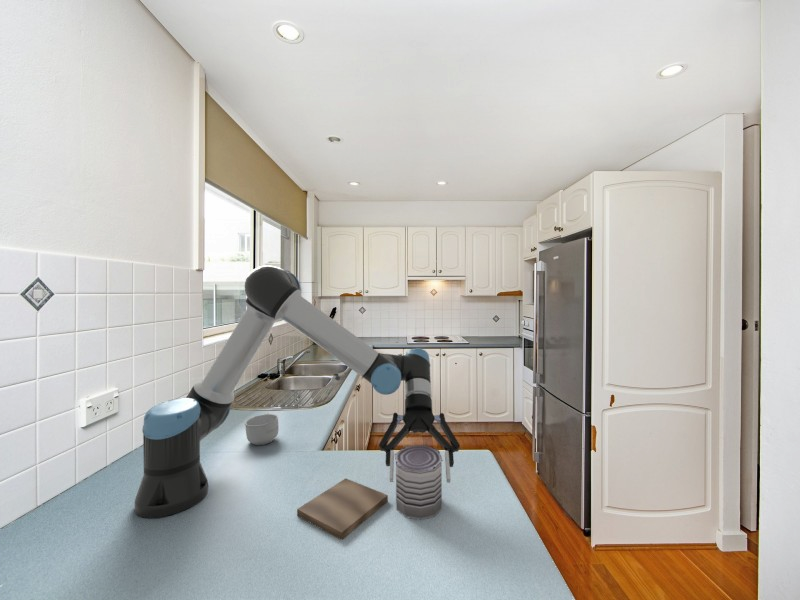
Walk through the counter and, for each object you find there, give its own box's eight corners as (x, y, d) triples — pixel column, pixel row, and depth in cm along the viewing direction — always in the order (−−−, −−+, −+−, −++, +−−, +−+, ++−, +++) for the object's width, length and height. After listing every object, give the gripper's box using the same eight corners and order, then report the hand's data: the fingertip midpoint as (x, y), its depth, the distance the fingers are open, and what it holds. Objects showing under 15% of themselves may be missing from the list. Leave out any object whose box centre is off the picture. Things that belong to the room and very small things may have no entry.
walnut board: (341, 539, 70) (341, 532, 70) (297, 515, 77) (297, 509, 77) (387, 501, 83) (387, 495, 83) (345, 483, 91) (345, 478, 91)
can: (450, 501, 83) (450, 452, 83) (427, 527, 73) (427, 471, 73) (411, 486, 89) (410, 441, 89) (385, 508, 80) (385, 458, 80)
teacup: (271, 448, 112) (271, 424, 112) (239, 448, 113) (238, 424, 113) (286, 432, 126) (286, 410, 126) (257, 431, 127) (257, 410, 127)
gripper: (461, 405, 97) (470, 486, 82) (375, 404, 98) (369, 484, 83) (464, 392, 92) (474, 475, 77) (372, 391, 93) (366, 474, 78)
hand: (419, 480), depth 80 cm, fingers open, 13 cm apart
